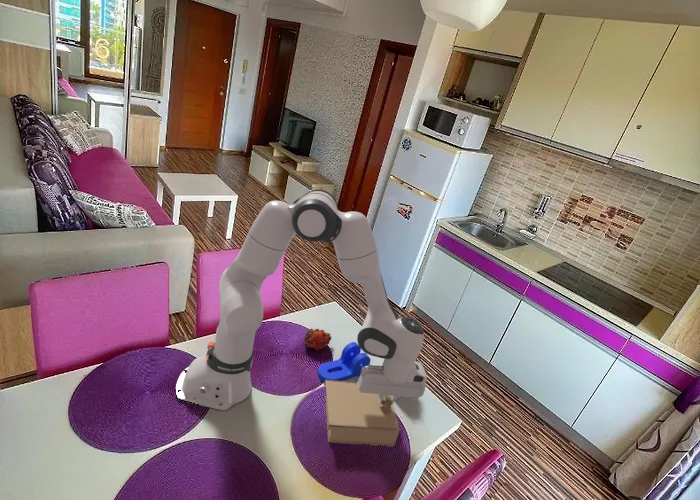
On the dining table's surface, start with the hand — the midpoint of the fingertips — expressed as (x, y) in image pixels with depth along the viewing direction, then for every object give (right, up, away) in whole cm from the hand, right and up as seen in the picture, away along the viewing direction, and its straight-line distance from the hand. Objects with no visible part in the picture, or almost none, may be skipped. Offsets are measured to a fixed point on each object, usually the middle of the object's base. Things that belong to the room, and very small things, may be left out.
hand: (385, 402), depth 123 cm
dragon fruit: (-24, +10, +31) cm, 41 cm away
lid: (-8, -1, 0) cm, 9 cm away
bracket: (-14, +3, +22) cm, 26 cm away
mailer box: (-8, -7, +2) cm, 11 cm away
